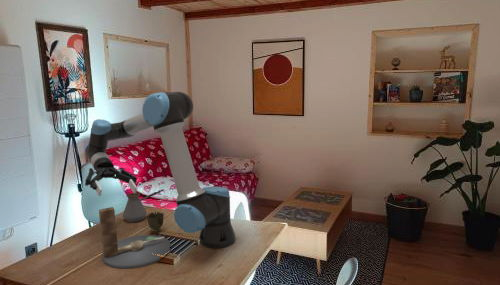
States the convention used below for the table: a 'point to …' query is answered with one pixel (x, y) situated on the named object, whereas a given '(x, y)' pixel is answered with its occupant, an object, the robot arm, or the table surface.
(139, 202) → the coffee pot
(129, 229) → the table surface
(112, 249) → the brown bar with rod
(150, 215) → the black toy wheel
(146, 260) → the dial plate
